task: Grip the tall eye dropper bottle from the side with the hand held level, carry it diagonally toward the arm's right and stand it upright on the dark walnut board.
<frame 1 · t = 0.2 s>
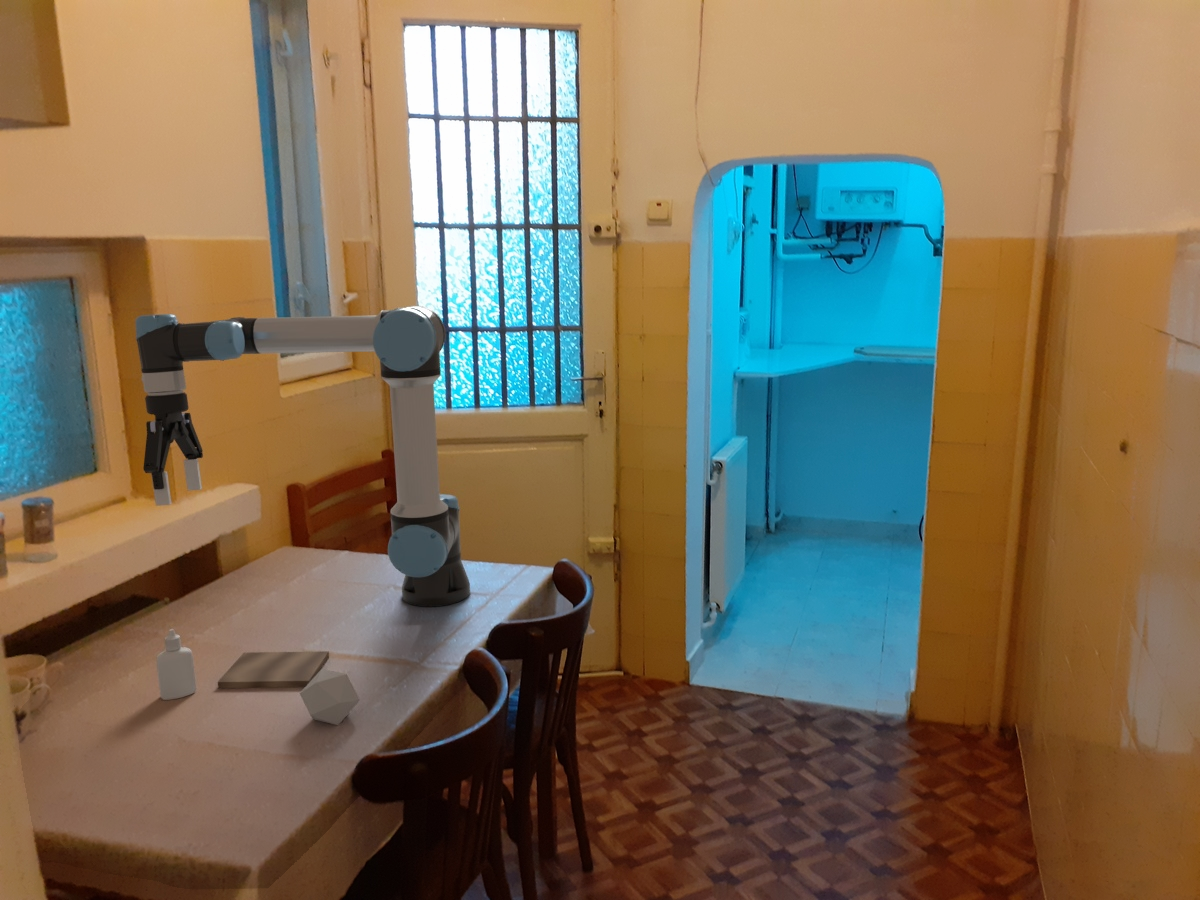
hand: (179, 497, 177), 27 cm above the table, tool pointing down, fingers open, 13 cm apart
eye dropper bottle: (178, 695, 151), on the table
die: (331, 719, 143), on the table
walnut board: (275, 672, 159), on the table
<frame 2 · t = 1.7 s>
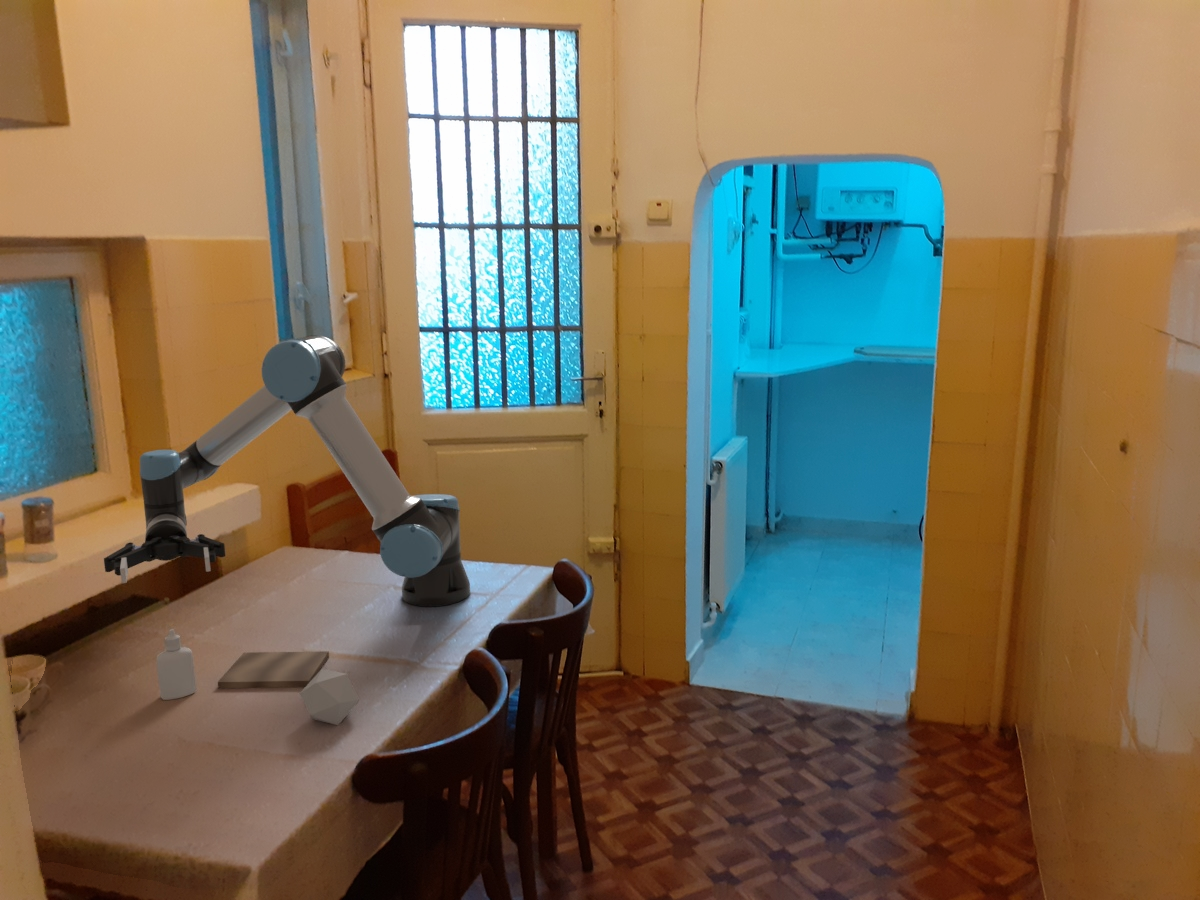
hand: (166, 570, 156), 20 cm above the table, tool horizontal, fingers open, 13 cm apart
nothing on the table moved.
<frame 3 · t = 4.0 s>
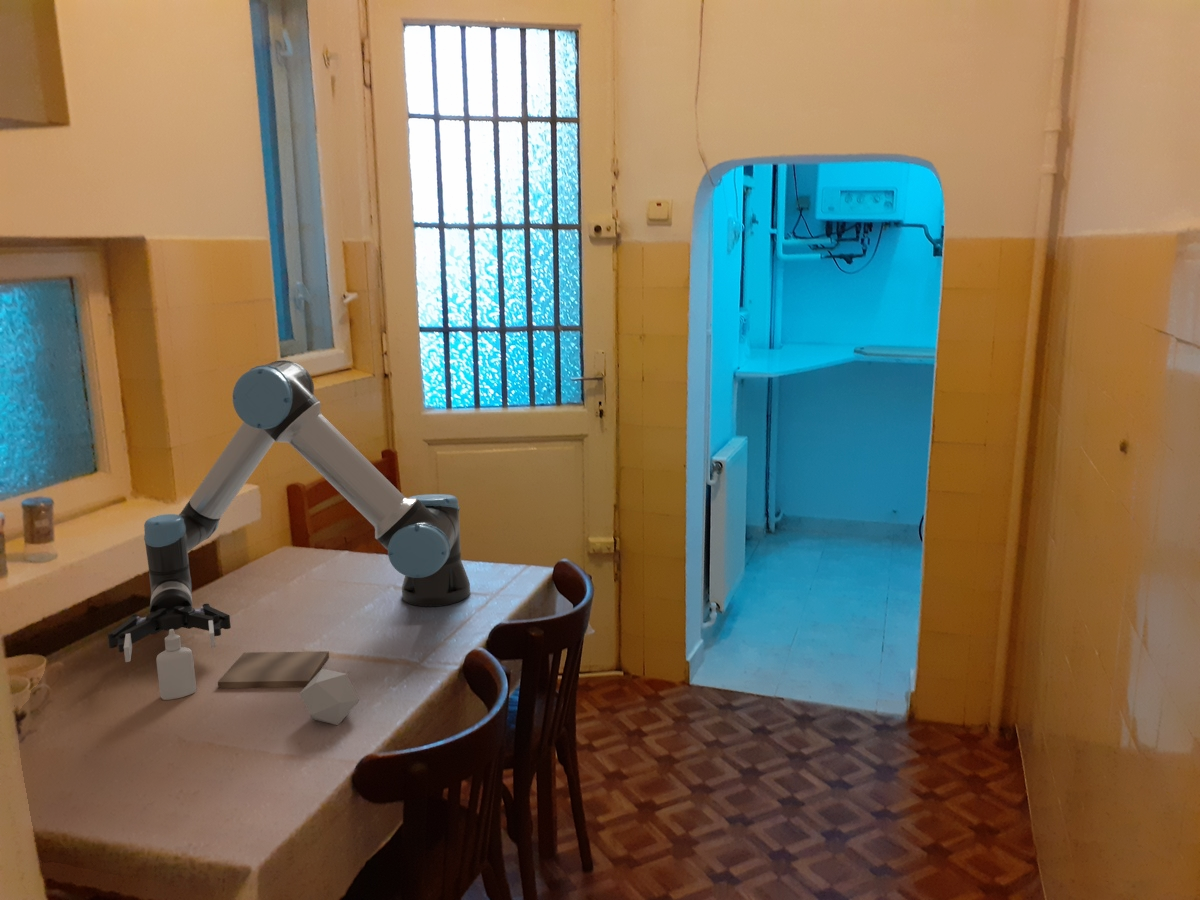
hand: (170, 647, 154), 7 cm above the table, tool horizontal, fingers open, 13 cm apart
nothing on the table moved.
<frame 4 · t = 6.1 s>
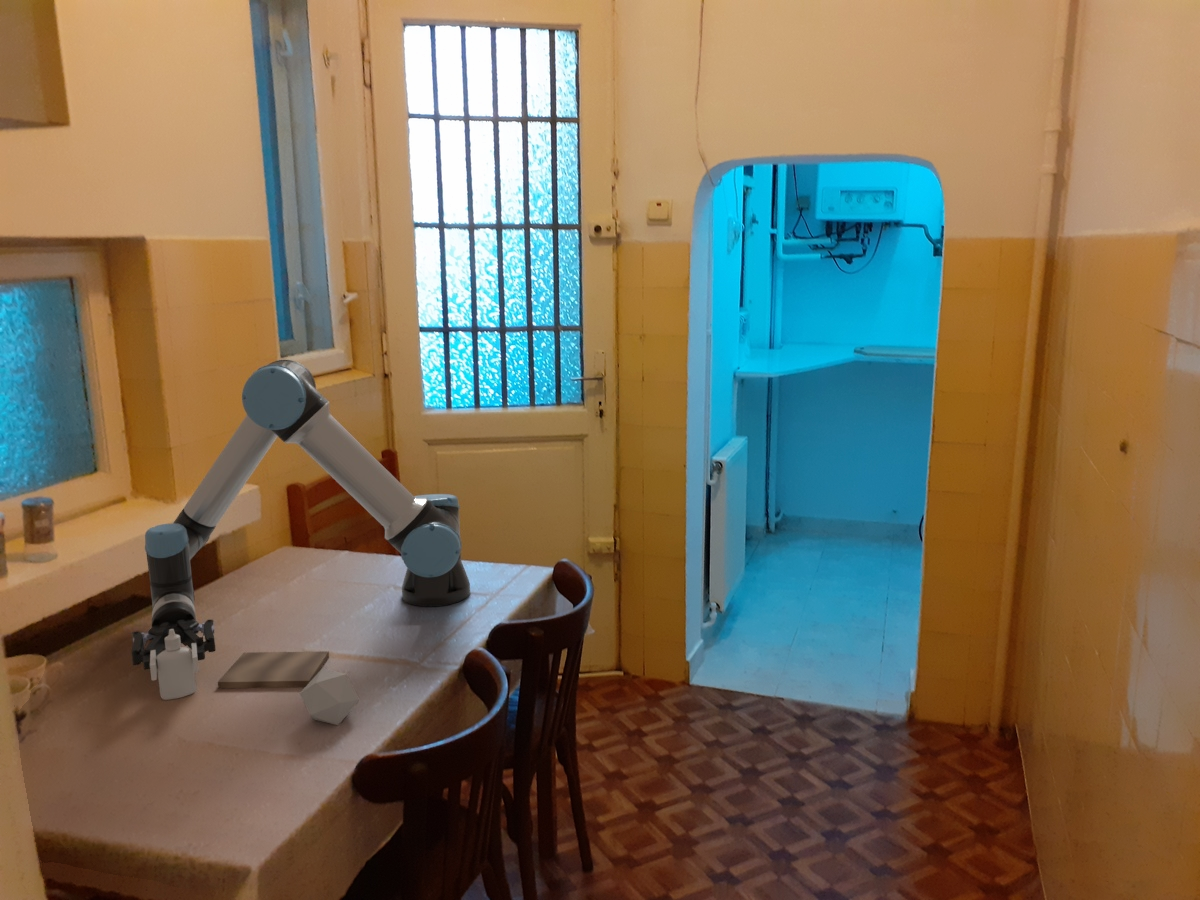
hand: (174, 668, 145), 7 cm above the table, tool horizontal, fingers closed on eye dropper bottle, 6 cm apart
eye dropper bottle: (178, 695, 151), on the table, touching gripper
everything else where it was.
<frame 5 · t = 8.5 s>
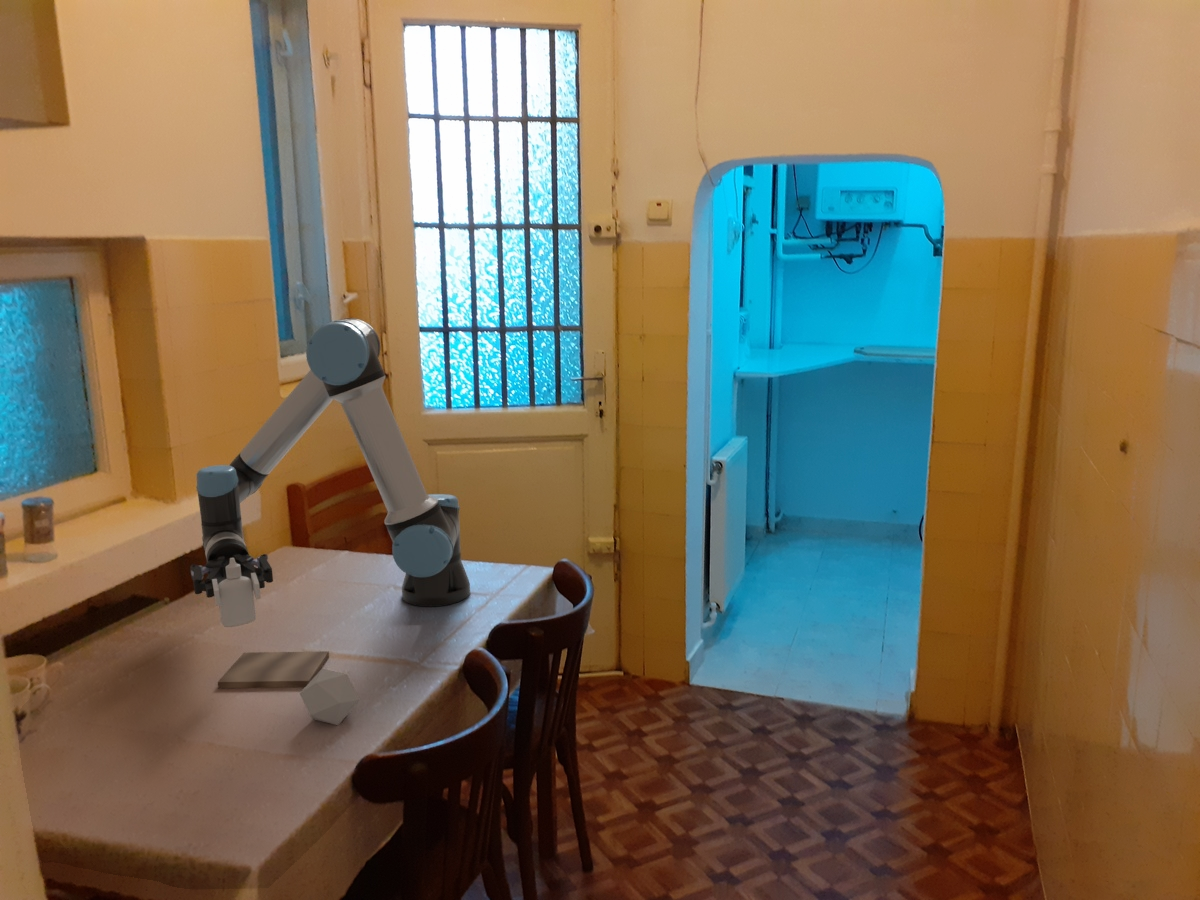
hand: (237, 594, 149), 18 cm above the table, tool horizontal, fingers closed on eye dropper bottle, 6 cm apart
eye dropper bottle: (239, 623, 155), point 11 cm above the table, touching gripper
everything else where it was.
when the fingers open (9 cm above the table, at t = 10.8 s): eye dropper bottle drops 1 cm, resting on walnut board.
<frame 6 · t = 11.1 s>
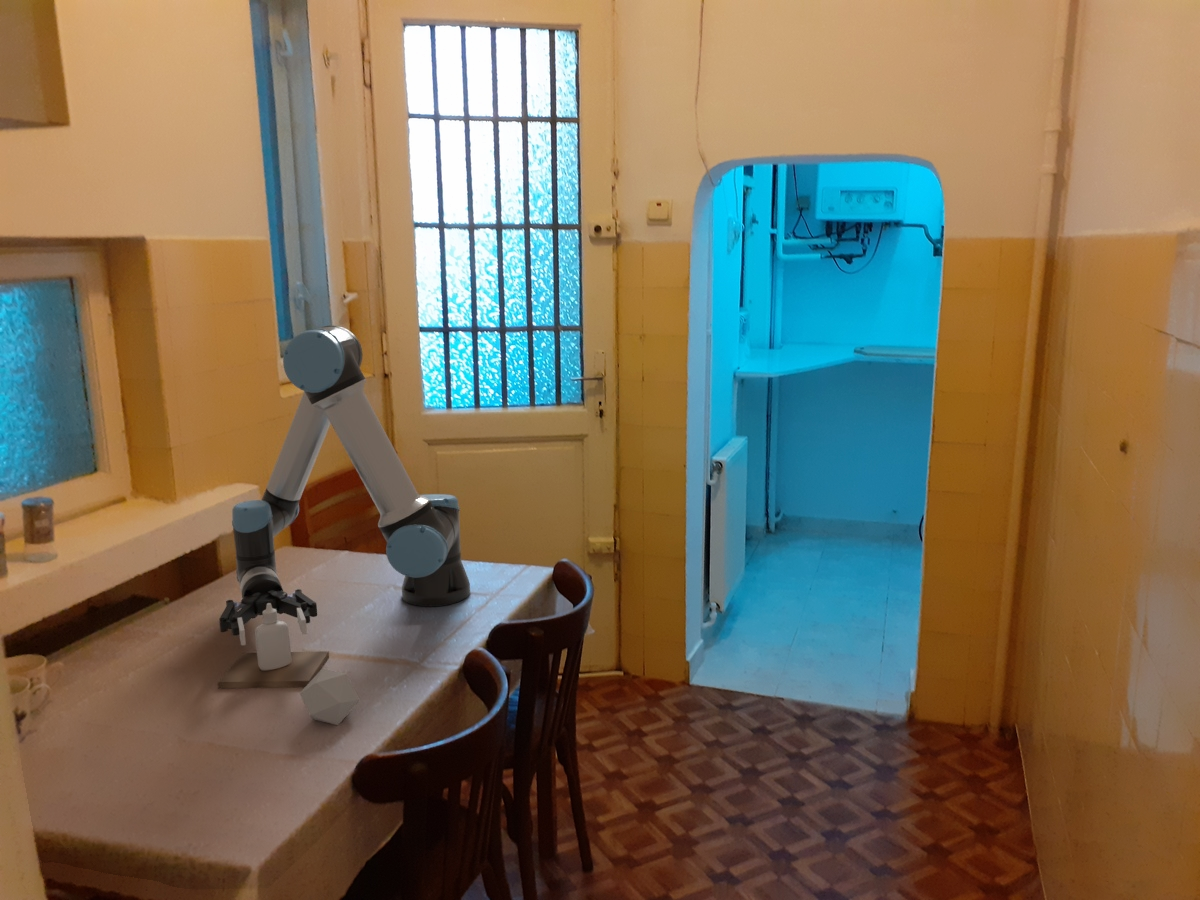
hand: (274, 632, 154), 9 cm above the table, tool horizontal, fingers open, 9 cm apart
eye dropper bottle: (275, 666, 159), point 1 cm above the table, touching walnut board
everything else where it was.
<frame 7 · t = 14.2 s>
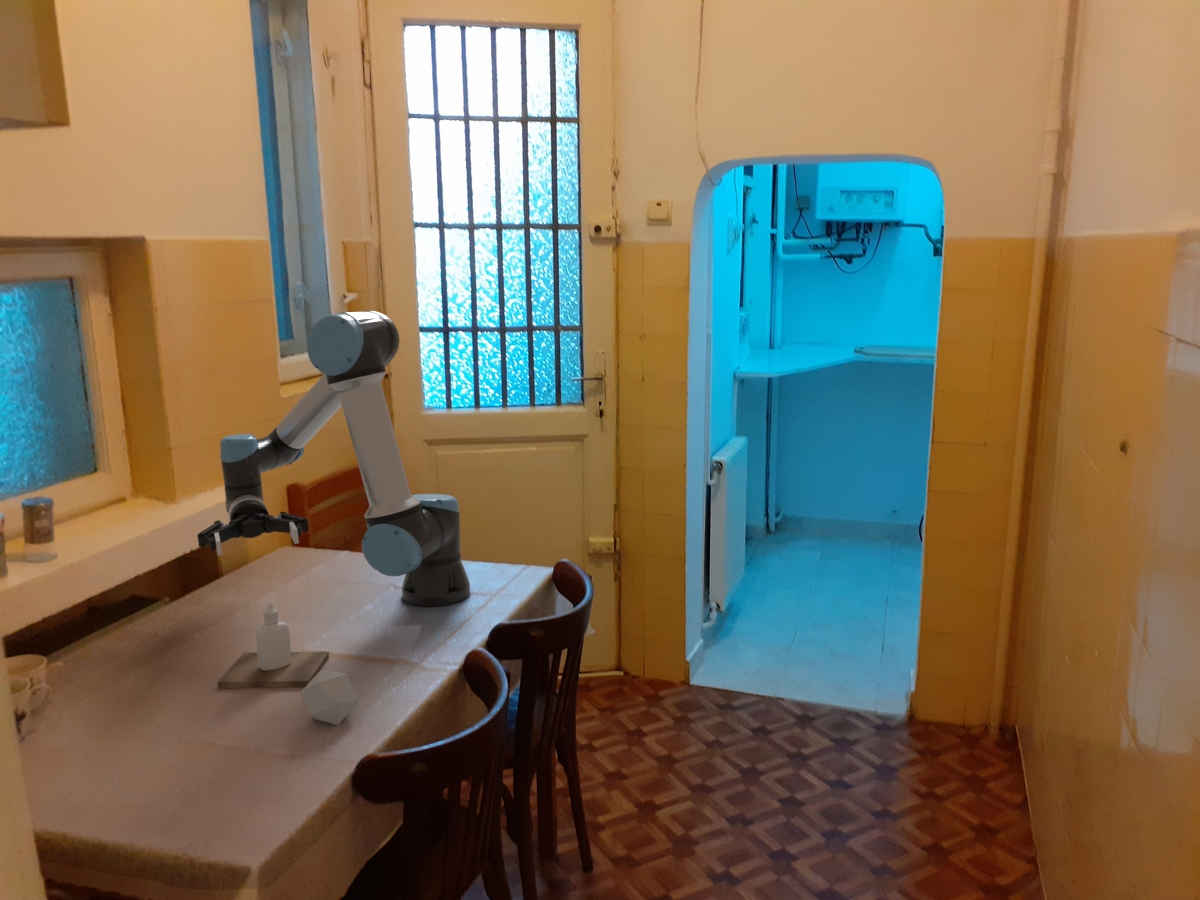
hand: (258, 542, 164), 22 cm above the table, tool horizontal, fingers open, 13 cm apart
nothing on the table moved.
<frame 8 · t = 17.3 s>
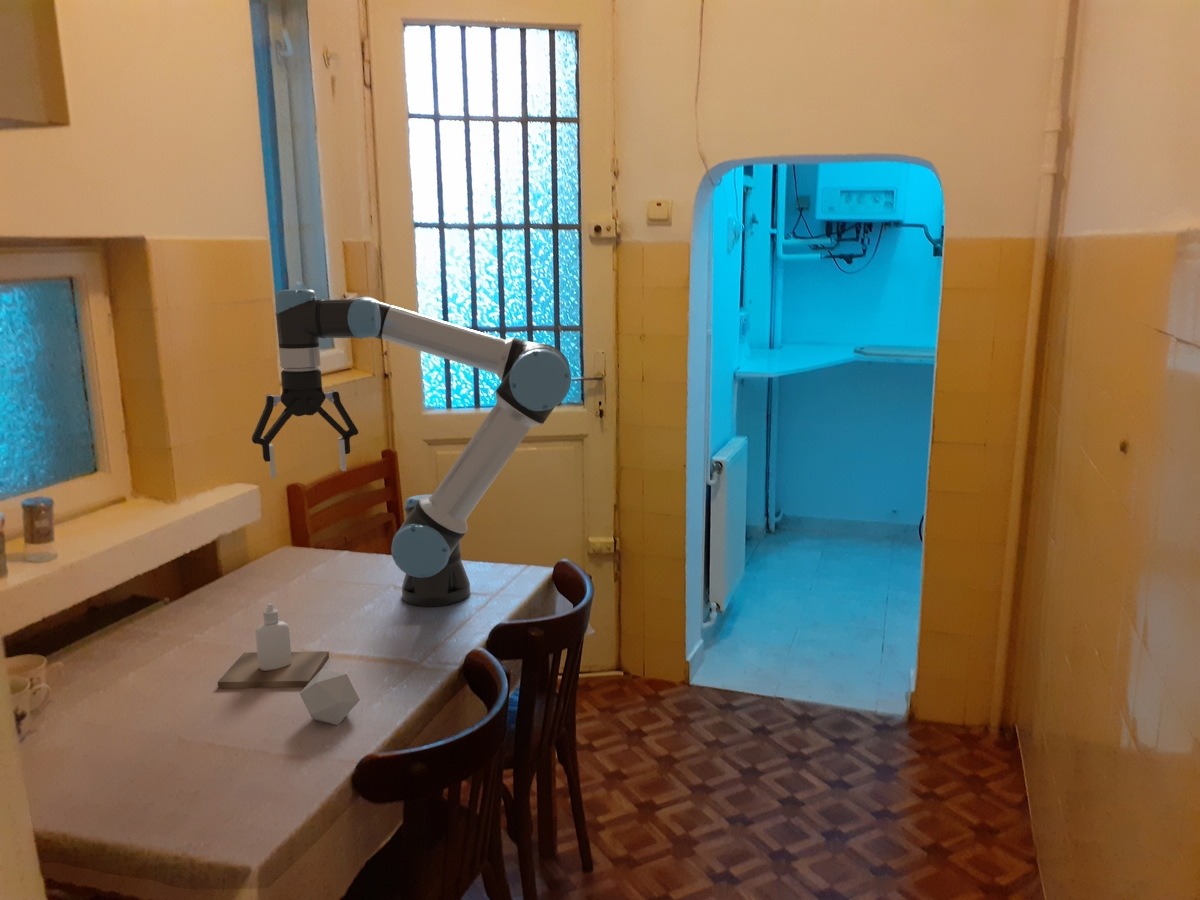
hand: (308, 473, 176), 32 cm above the table, tool pointing down, fingers open, 13 cm apart
nothing on the table moved.
at the end: eye dropper bottle inside the target area on the walnut board (0.1 cm from its centre), point 1.0 cm above the walnut board's base; eye dropper bottle tilted 0°; the gripper is holding nothing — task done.
